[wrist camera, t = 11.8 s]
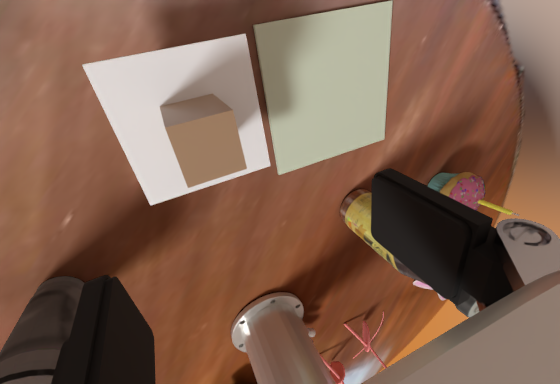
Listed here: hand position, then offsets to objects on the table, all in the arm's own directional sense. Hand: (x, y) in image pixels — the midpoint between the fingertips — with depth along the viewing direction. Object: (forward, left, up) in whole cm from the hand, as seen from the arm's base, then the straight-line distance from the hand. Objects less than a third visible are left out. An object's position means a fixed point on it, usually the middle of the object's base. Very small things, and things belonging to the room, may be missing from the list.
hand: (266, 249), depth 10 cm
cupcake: (-42, -10, -22) cm, 48 cm away
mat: (-13, -10, -22) cm, 27 cm away
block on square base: (0, 0, -16) cm, 16 cm away
